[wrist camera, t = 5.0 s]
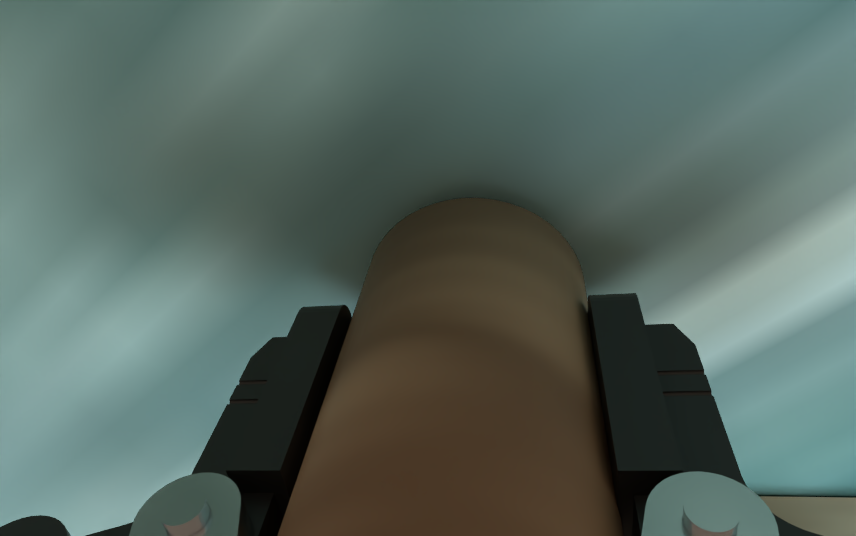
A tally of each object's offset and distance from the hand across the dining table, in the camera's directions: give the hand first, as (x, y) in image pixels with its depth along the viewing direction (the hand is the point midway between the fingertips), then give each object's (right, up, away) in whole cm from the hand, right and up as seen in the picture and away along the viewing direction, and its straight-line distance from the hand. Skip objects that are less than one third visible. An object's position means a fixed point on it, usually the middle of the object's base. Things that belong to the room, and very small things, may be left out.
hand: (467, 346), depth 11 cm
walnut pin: (0, +1, +1) cm, 2 cm away
